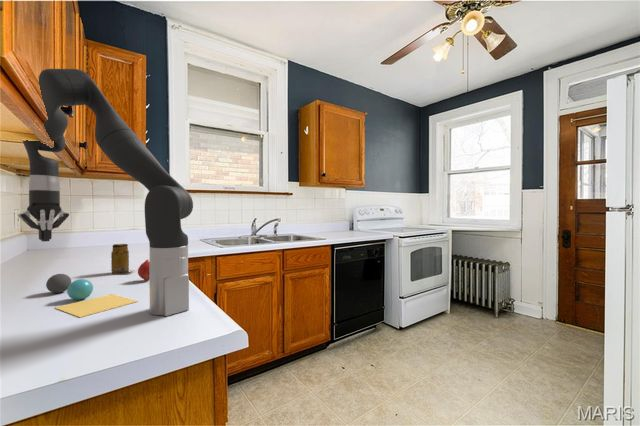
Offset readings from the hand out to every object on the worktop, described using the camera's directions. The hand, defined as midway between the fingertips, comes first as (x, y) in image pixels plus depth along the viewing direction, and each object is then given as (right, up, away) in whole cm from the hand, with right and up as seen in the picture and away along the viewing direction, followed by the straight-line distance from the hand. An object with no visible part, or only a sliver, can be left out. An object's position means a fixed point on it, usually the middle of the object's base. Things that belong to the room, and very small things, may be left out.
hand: (45, 241), depth 97 cm
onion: (+27, -16, +11) cm, 34 cm away
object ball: (+21, -13, -11) cm, 27 cm away
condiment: (+10, -16, +24) cm, 30 cm away
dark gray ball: (+9, -13, -4) cm, 16 cm away
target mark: (+30, -16, -16) cm, 37 cm away
